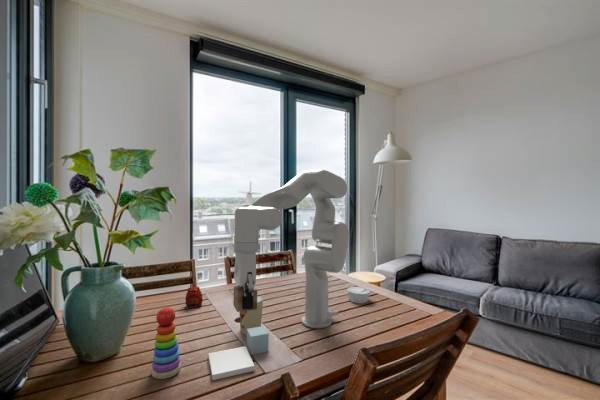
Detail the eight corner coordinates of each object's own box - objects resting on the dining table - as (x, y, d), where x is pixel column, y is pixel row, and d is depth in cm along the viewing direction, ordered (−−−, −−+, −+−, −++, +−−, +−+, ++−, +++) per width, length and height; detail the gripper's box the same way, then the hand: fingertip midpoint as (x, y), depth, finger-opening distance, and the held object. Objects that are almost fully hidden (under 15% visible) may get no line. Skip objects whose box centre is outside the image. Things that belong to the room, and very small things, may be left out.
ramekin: (371, 304, 139) (372, 294, 139) (348, 304, 139) (349, 293, 139) (366, 296, 150) (367, 286, 150) (345, 296, 150) (345, 286, 150)
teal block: (263, 342, 101) (263, 325, 101) (268, 351, 96) (268, 333, 96) (246, 345, 99) (246, 328, 99) (250, 354, 94) (250, 336, 94)
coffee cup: (236, 326, 114) (237, 296, 113) (259, 323, 117) (260, 294, 117) (240, 337, 105) (240, 305, 105) (265, 333, 108) (265, 301, 108)
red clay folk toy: (184, 309, 130) (185, 276, 130) (185, 304, 137) (186, 272, 137) (202, 307, 132) (202, 275, 132) (202, 302, 139) (203, 271, 139)
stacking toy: (185, 363, 88) (185, 303, 88) (174, 380, 80) (175, 313, 80) (159, 364, 88) (159, 303, 87) (146, 380, 80) (146, 314, 80)
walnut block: (251, 302, 93) (252, 284, 93) (256, 309, 87) (257, 289, 87) (233, 305, 90) (233, 286, 90) (237, 311, 85) (237, 291, 85)
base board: (245, 350, 96) (245, 346, 96) (254, 370, 85) (254, 365, 85) (208, 357, 91) (208, 353, 91) (212, 380, 80) (212, 374, 80)
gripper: (229, 243, 95) (227, 297, 95) (240, 252, 80) (238, 317, 79) (251, 242, 98) (249, 295, 98) (266, 251, 83) (264, 313, 83)
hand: (244, 304), depth 89 cm, fingers closed on walnut block, 5 cm apart
